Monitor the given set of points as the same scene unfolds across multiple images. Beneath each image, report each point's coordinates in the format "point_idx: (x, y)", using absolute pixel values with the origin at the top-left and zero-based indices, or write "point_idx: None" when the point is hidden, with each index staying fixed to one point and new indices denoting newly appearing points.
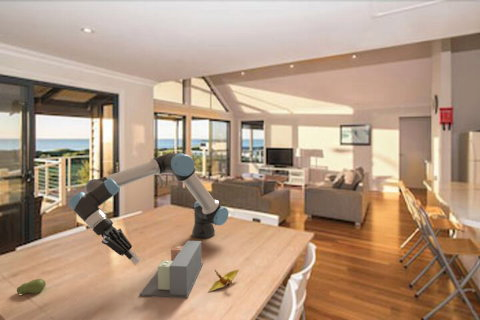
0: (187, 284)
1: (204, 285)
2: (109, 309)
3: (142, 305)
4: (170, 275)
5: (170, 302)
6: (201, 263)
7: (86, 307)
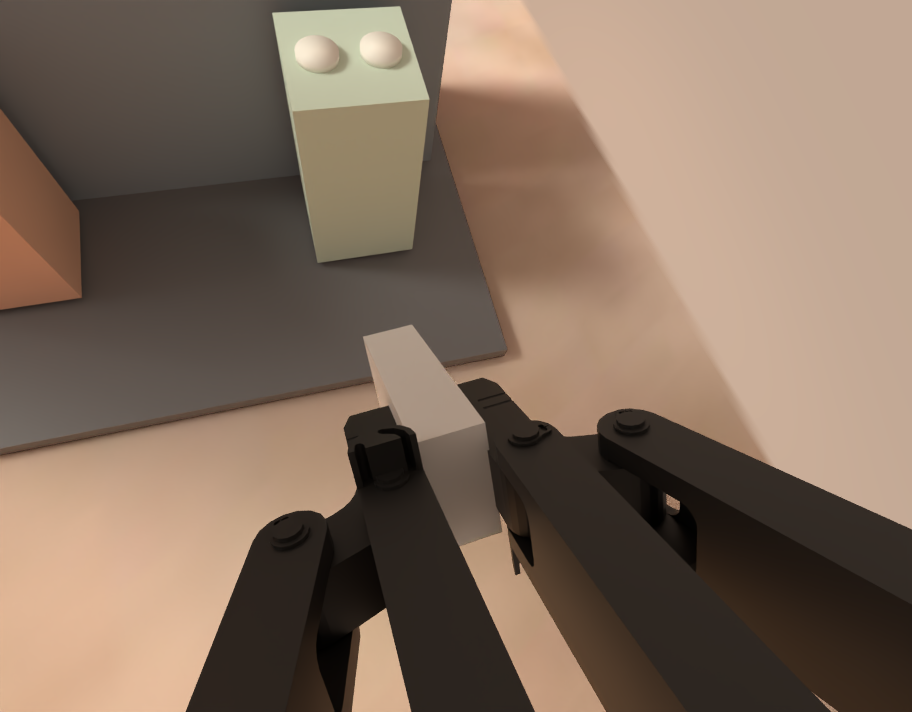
0: None
1: None
2: None
3: (574, 276)
4: (445, 32)
5: (483, 143)
6: None
7: None
